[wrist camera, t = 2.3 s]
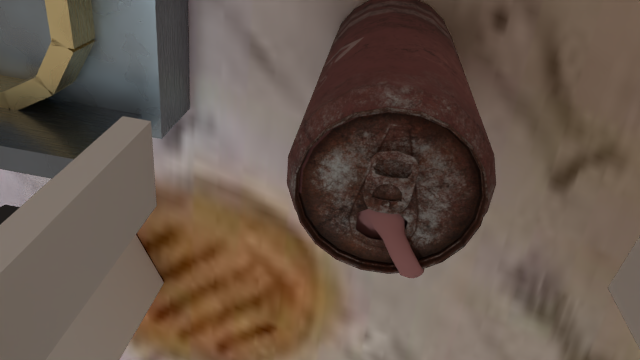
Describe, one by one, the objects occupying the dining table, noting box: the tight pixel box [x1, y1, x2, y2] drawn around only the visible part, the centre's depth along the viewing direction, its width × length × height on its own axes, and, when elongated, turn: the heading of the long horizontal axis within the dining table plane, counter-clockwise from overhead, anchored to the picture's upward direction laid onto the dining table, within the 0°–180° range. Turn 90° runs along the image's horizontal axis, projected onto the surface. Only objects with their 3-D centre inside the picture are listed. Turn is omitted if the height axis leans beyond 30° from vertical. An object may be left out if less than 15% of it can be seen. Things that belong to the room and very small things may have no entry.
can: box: [287, 0, 496, 278], centre depth 20 cm, size 6×6×14 cm
